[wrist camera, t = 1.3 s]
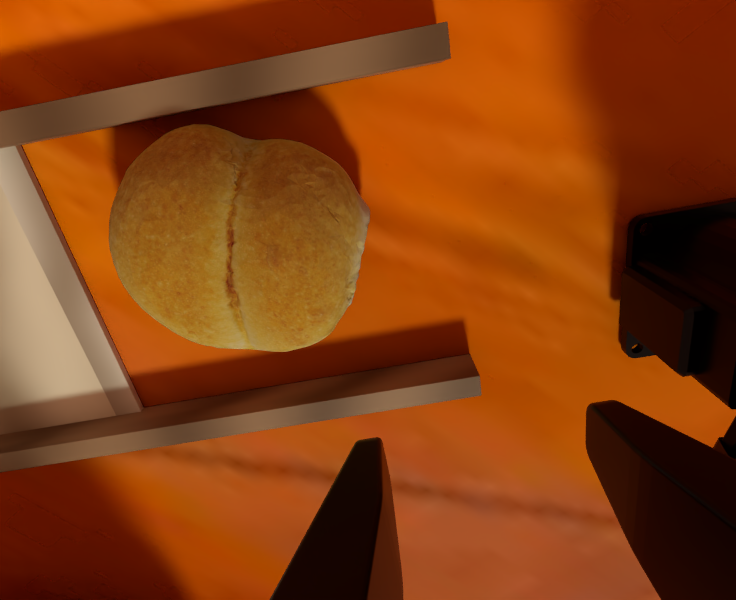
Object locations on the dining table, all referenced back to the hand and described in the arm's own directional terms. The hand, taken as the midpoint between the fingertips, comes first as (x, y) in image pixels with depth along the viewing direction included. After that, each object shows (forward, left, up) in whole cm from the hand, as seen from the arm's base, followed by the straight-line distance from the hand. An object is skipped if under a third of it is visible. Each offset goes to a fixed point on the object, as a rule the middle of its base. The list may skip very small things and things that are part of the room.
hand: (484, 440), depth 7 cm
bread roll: (+9, 0, -12) cm, 16 cm away
